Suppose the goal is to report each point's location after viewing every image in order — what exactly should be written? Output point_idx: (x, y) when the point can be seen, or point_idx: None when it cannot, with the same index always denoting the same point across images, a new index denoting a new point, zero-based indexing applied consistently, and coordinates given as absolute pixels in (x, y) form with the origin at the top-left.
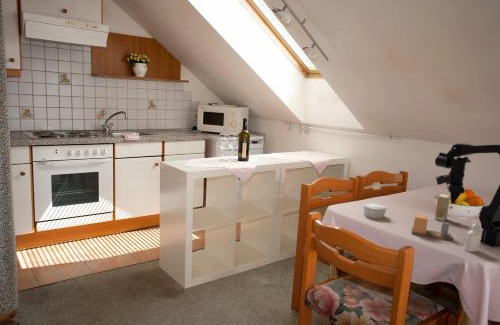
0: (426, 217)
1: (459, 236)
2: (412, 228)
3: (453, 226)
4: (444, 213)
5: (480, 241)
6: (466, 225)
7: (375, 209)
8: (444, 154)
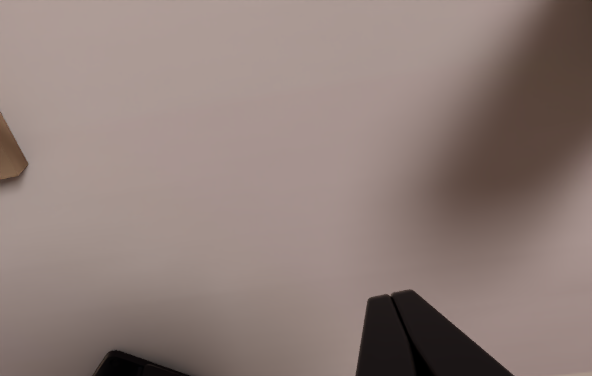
0: None
1: (111, 224)
2: None
3: (432, 126)
4: None
5: (101, 362)
6: (552, 214)
7: None
8: None
